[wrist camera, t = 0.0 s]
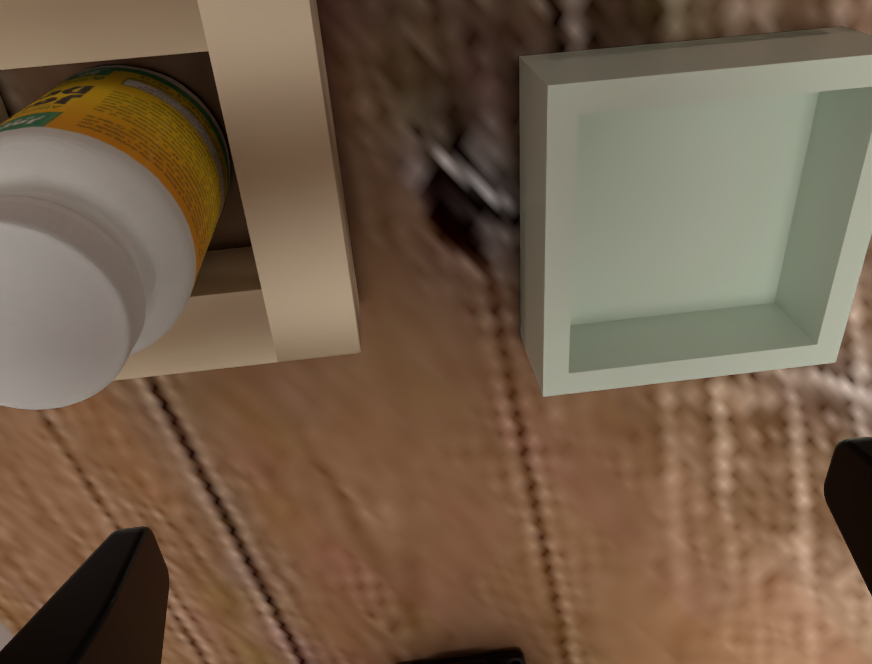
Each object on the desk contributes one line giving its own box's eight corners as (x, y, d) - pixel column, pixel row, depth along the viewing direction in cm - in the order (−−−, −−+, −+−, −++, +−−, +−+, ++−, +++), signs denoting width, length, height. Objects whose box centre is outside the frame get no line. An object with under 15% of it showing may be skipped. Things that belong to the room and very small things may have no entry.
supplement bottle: (159, 271, 23) (57, 483, 15) (2, 154, 21) (-222, 330, 13) (272, 156, 22) (227, 323, 13) (116, 14, 19) (-54, 113, 11)
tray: (780, 308, 26) (835, 362, 23) (520, 337, 26) (542, 396, 23) (842, 26, 21) (922, 49, 18) (519, 56, 21) (547, 85, 18)
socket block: (359, 303, 24) (360, 352, 22) (14, 341, 24) (-26, 396, 21) (304, -85, 18) (297, -80, 16) (-162, -48, 18) (-247, -35, 15)
